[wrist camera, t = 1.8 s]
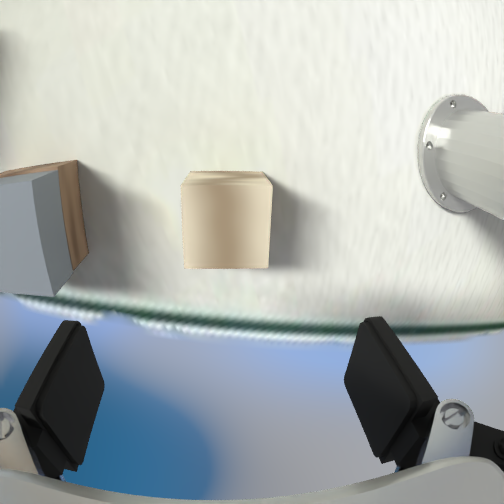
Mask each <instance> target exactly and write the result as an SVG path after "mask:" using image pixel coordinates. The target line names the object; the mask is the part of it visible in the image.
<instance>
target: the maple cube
mask: <svg viewBox="0 0 504 504" xmlns="http://www.w3.org/2000/svg"><path fill="white" fill-rule="evenodd" d="M272 191H273V186H272V184H271V183H270V181H269V180H268V179H267V177H266V176H265V175H264V173H263V172H252V171H190V173H189V174H188V176H187V177H186V178H185V180H184V181H183V183H182V184H181V210H182V234H183V253H184V269H240V268H268V260H269V244H270V227H271V209H272Z"/></svg>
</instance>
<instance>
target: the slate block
mask: <svg viewBox="0 0 504 504" xmlns="http://www.w3.org/2000/svg"><path fill="white" fill-rule="evenodd" d="M72 274H73V269H72V264H71V259H70V254H69V249H68V244H67V238H66V232H65V225H64V219H63V212H62V204H61V195H60V186H59V175H58V170H52V171H44V172H37V173H29V174H22V175H16V176H9V177H3V178H0V292H5V293H15V294H26V295H38V296H52V297H54V296H55V295H56V294H57V292H58V291H59V290H60V289H61V287H62V286H63V285H64V284H65V282H66V281H67V280H68V279H69V278H70V276H71V275H72Z"/></svg>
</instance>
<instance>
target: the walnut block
mask: <svg viewBox="0 0 504 504" xmlns="http://www.w3.org/2000/svg"><path fill="white" fill-rule="evenodd" d="M52 170H58V175H59V186H60V195H61V204H62V212H63V219H64V225H65V232H66V238H67V244H68V249H69V254H70V259H71V264H72V269H73V270H74V269H75V268H76V267H77V266H78V265H79V264H80V263H81V261H82V260H83V259H84V258H85V257H86V256H87V255H88V253H89V252H88V246H87V240H86V234H85V228H84V221H83V214H82V206H81V197H80V188H79V178H78V166H77V160H73V161H65V162H58V163H51V164H44V165H38V166H31V167H26V168H20V169H14V170H9V171H5V172H2V173H0V178H3V177H9V176H16V175H22V174H29V173H37V172H44V171H52Z"/></svg>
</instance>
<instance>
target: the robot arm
mask: <svg viewBox="0 0 504 504" xmlns="http://www.w3.org/2000/svg"><path fill="white" fill-rule="evenodd" d="M418 162H419V169H420V173H421V177H422V180H423V183H424V185H425V187H426V189H427V191H428V192H429V194H430V195H431V197H432V198H433V199H434V200H435V201H436V202H437V203H438V204H439V205H441V206H443V207H445V208H446V209H449V210H451V211H454V212H461V213H462V212H468V211H471V210H473V209H475V208H477V207H478V208H480V209H482V210H484V211H486V212H488V213H490V214H492V215H494V216H496V217H498V218H500V219H501V220H503V221H504V114H503V113H495V112H489V111H488V110H487V108H486V107H485V106H484V105H483V104H482V103H480V102H479V101H478V100H476V99H474V98H473V97H470V96H466V95H450V96H446V97H444V98H442V99H440V100H439V101H438V102H436V103H435V104H434V105H433V106H432V108H431V109H430V110H429V112H428V113H427V115H426V117H425V119H424V121H423V123H422V127H421V131H420V134H419V141H418ZM344 383H345V387H346V389H347V392H348V394H349V396H350V399H351V401H352V403H353V406H354V408H355V410H356V413H357V415H358V418H359V420H360V422H361V425H362V427H363V430H364V432H365V434H366V437H367V439H368V442H369V444H370V447H371V449H372V452H373V454H374V455H375V457H379V459H380V461H381V463H382V464H383V463H386V462H389V461H393V460H395V463H396V465H397V467H396V470H395V472H394V473H392V474H389V475H385V476H382V477H379V478H375V479H371V480H367V481H363V482H359V483H355V484H351V485H346V486H342V487H337V488H332V489H327V490H322V491H316V492H310V493H304V494H297V495H290V496H281V497H272V498H261V499H246V500H213V501H212V500H181V499H166V498H153V497H145V496H137V495H129V494H123V493H117V492H111V491H105V490H100V489H95V488H90V487H85V486H81V485H77V484H72V483H68V482H66V481H65V480H64V477H63V476H62V474H63V470H64V469H67V470H71V471H75V472H77V468H78V465H81V464H82V463H83V461H84V456H85V453H86V449H87V445H88V442H89V438H90V434H91V431H92V427H93V424H94V421H95V417H96V414H97V411H98V407H99V404H100V401H101V397H102V394H103V391H104V380H103V378H102V375H101V372H100V369H99V367H98V364H97V361H96V358H95V355H94V352H93V349H92V346H91V344H90V340H89V337H88V334H87V331H86V328H85V327H84V326H82V325H81V323H80V322H78V321H68V320H64V321H63V322H62V323H61V325H60V326H59V328H58V330H57V331H56V333H55V334H54V336H53V338H52V339H51V341H50V343H49V344H48V346H47V348H46V349H45V351H44V353H43V354H42V356H41V358H40V360H39V361H38V363H37V365H36V367H35V368H34V370H33V372H32V374H31V376H30V377H29V380H28V381H27V383H26V385H25V387H24V389H23V391H22V393H21V395H20V397H19V398H18V400H17V403H16V404H15V409H14V411H12V410H9V409H7V408H0V504H504V431H501V430H498V429H495V428H492V427H489V426H486V425H483V424H480V423H477V422H474V415H473V412H472V410H471V409H470V408H469V406H468V405H466V404H465V403H464V402H462V401H460V400H456V399H447V400H444V401H442V402H441V403H440V402H439V400H438V396H437V395H436V393H435V392H434V390H433V389H432V387H431V386H430V384H429V383H428V381H427V380H426V378H425V377H424V375H423V374H422V372H421V371H420V369H419V368H418V366H417V365H416V363H415V362H414V361H413V359H412V358H411V356H410V355H409V353H408V352H407V350H406V349H405V348H404V346H403V345H402V343H401V342H400V340H399V339H398V338H397V336H396V335H395V333H394V332H393V331H392V329H391V328H390V326H389V325H388V324H387V322H386V321H385V320H384V318H383V317H381V316H379V317H369V318H365V320H364V322H362V323H360V325H359V328H358V332H357V336H356V339H355V343H354V346H353V350H352V353H351V357H350V360H349V363H348V367H347V370H346V373H345V376H344Z"/></svg>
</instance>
